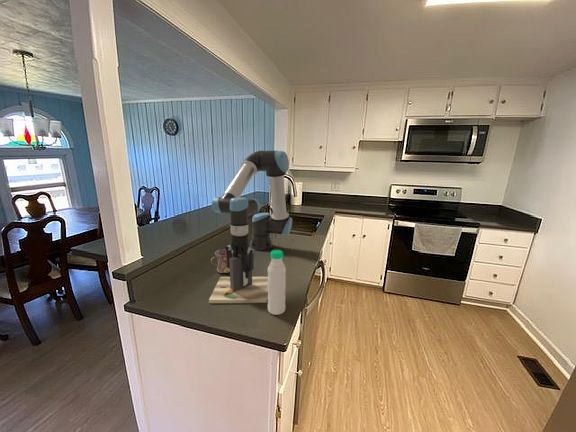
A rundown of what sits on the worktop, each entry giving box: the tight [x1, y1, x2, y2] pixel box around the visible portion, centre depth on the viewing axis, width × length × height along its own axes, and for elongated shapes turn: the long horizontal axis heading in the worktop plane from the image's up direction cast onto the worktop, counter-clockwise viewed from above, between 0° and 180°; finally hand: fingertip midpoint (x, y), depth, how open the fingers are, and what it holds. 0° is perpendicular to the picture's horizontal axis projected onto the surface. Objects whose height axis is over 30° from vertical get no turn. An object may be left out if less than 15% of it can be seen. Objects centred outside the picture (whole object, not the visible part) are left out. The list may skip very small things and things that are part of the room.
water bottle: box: [267, 249, 287, 316], centre depth 92 cm, size 7×7×25 cm
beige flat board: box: [208, 276, 268, 304], centre depth 109 cm, size 20×24×2 cm
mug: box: [210, 248, 234, 274], centre depth 126 cm, size 12×9×11 cm
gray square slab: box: [224, 251, 253, 294], centre depth 105 cm, size 3×14×15 cm, turn 136°
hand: (240, 283), depth 108 cm, fingers closed on gray square slab, 4 cm apart
